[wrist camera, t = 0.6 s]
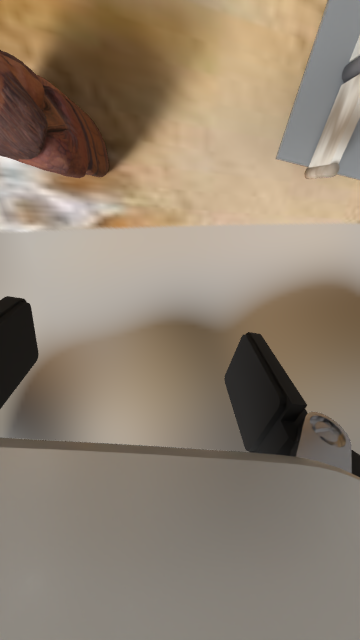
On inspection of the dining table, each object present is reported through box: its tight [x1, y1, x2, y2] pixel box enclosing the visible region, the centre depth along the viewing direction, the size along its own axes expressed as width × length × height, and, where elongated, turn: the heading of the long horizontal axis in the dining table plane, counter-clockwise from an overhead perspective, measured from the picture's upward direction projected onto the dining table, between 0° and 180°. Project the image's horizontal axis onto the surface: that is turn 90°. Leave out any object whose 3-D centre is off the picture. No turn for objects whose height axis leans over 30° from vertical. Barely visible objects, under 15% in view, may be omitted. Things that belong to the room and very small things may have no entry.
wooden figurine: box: [0, 50, 109, 178], centre depth 19 cm, size 12×6×18 cm, turn 69°
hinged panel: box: [305, 74, 360, 179], centre depth 25 cm, size 9×1×5 cm, turn 170°
